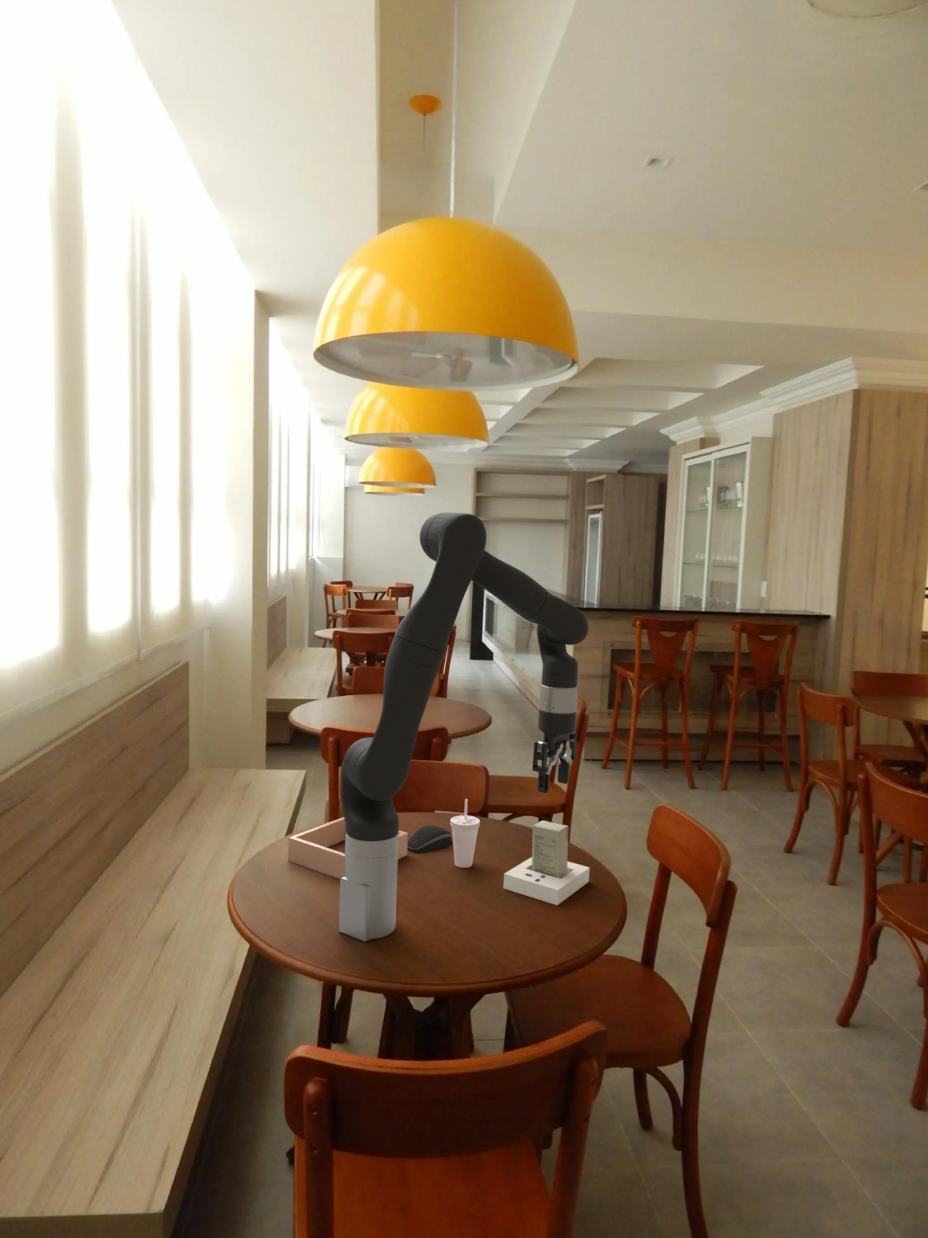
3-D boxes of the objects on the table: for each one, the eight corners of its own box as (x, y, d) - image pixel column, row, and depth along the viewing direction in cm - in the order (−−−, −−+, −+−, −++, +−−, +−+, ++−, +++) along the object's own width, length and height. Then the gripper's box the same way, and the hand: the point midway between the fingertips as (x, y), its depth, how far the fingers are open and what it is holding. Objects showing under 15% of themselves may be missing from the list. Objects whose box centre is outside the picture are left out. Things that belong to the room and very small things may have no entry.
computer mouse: (398, 848, 178) (399, 830, 177) (436, 835, 187) (436, 818, 186) (420, 857, 173) (421, 839, 173) (458, 843, 182) (459, 826, 182)
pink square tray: (349, 882, 157) (350, 858, 157) (288, 860, 167) (288, 837, 167) (407, 855, 173) (407, 833, 172) (347, 836, 182) (348, 815, 182)
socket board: (557, 905, 151) (558, 887, 151) (503, 888, 158) (504, 871, 157) (588, 881, 163) (589, 865, 162) (537, 866, 169) (538, 851, 169)
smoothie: (479, 859, 172) (482, 796, 171) (477, 871, 166) (479, 806, 164) (450, 857, 172) (452, 794, 171) (446, 869, 166) (449, 804, 165)
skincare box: (567, 884, 161) (570, 826, 160) (557, 891, 157) (561, 831, 156) (539, 876, 164) (542, 819, 163) (529, 883, 161) (532, 824, 160)
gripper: (558, 715, 150) (553, 799, 151) (590, 705, 162) (585, 783, 163) (523, 710, 154) (519, 791, 155) (557, 700, 166) (553, 776, 167)
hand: (553, 787), depth 159 cm, fingers open, 8 cm apart
